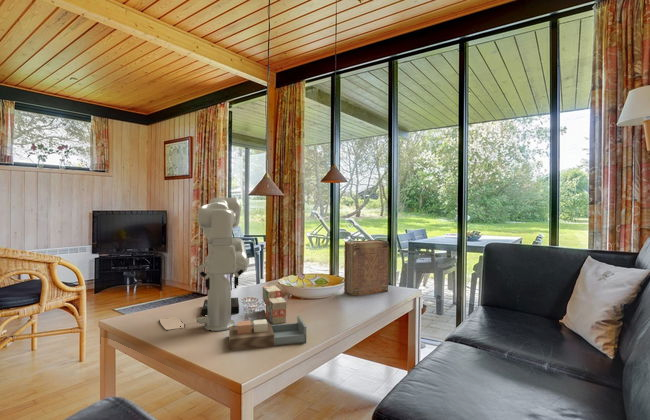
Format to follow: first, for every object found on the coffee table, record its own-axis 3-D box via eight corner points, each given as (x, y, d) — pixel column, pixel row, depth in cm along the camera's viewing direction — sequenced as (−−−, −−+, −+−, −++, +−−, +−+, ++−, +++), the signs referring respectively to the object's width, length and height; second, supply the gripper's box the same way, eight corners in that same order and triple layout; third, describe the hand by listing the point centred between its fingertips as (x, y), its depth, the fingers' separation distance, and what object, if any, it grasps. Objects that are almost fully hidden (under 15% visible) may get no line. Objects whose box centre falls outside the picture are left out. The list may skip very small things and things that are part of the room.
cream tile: (254, 332, 134) (254, 324, 134) (253, 328, 139) (253, 320, 139) (267, 331, 135) (267, 323, 135) (266, 326, 140) (266, 319, 140)
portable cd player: (203, 307, 181) (203, 299, 181) (238, 305, 185) (238, 297, 185) (201, 317, 165) (201, 308, 165) (239, 314, 170) (239, 306, 170)
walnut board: (229, 350, 127) (229, 339, 127) (229, 336, 141) (229, 326, 141) (274, 345, 131) (274, 335, 131) (270, 332, 145) (270, 322, 145)
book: (352, 296, 201) (352, 243, 200) (344, 293, 209) (344, 241, 209) (388, 291, 213) (388, 241, 213) (378, 288, 221) (379, 239, 221)
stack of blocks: (286, 322, 157) (286, 294, 157) (272, 324, 155) (272, 296, 155) (275, 309, 177) (275, 284, 177) (262, 310, 175) (262, 285, 175)
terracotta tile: (237, 334, 132) (237, 325, 132) (237, 329, 137) (237, 321, 137) (251, 332, 133) (251, 324, 133) (250, 328, 138) (250, 320, 138)
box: (274, 345, 131) (274, 329, 131) (270, 332, 145) (270, 317, 145) (306, 342, 134) (306, 326, 134) (299, 329, 148) (299, 315, 148)
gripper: (196, 244, 127) (196, 292, 127) (246, 242, 132) (246, 289, 132) (197, 242, 134) (198, 287, 134) (245, 240, 139) (245, 284, 139)
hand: (222, 288), depth 133 cm, fingers open, 9 cm apart
